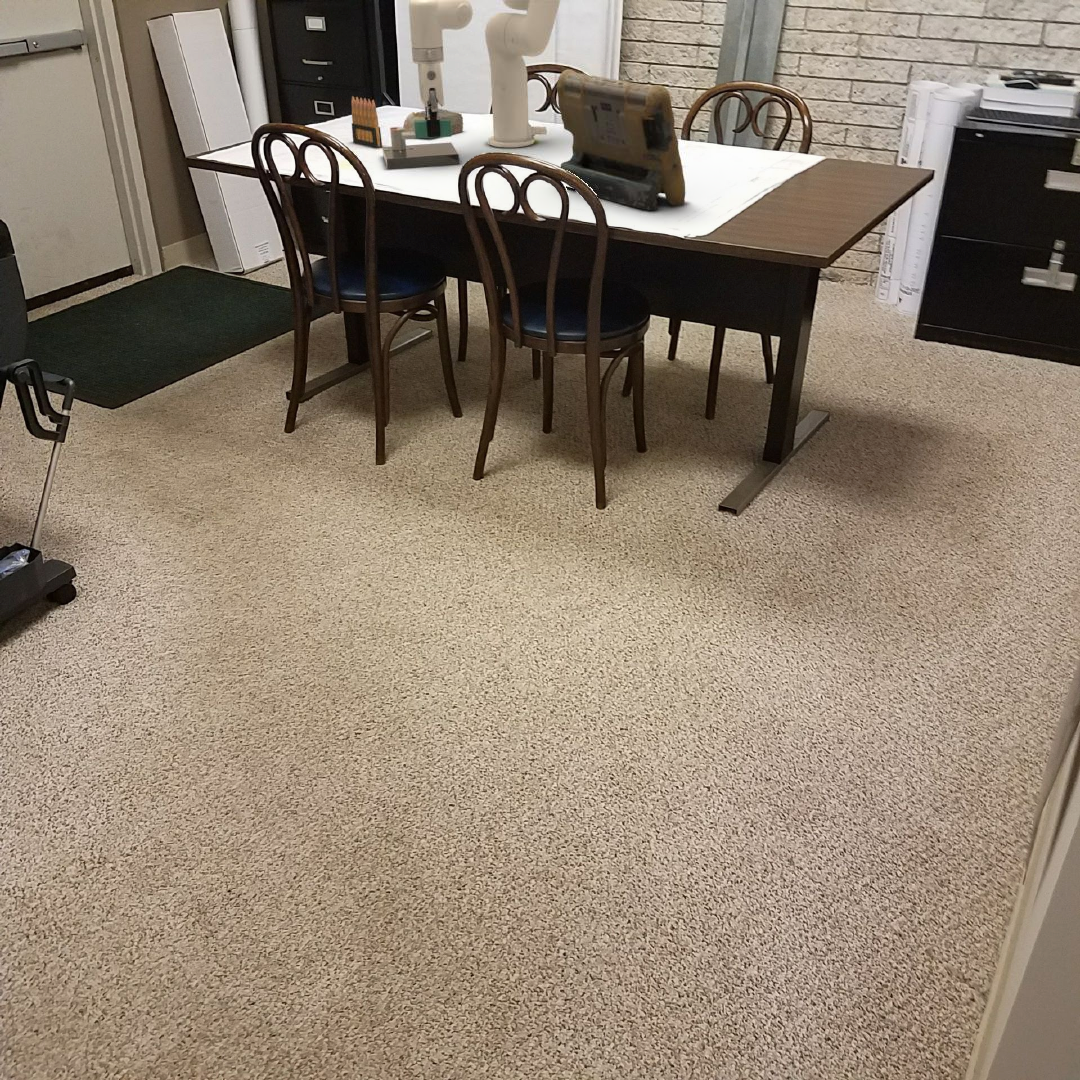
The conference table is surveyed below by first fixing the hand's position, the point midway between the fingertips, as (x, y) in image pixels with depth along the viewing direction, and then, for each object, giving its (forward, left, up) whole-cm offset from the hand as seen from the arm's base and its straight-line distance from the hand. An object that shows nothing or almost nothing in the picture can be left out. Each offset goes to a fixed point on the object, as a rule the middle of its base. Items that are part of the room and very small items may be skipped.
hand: (433, 134), depth 265 cm
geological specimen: (-4, -36, -7) cm, 37 cm away
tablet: (-37, +43, -7) cm, 57 cm away
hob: (+3, -4, -7) cm, 8 cm away
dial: (+8, -7, -4) cm, 11 cm away
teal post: (+2, 0, 0) cm, 2 cm away
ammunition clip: (+15, -27, -7) cm, 32 cm away
